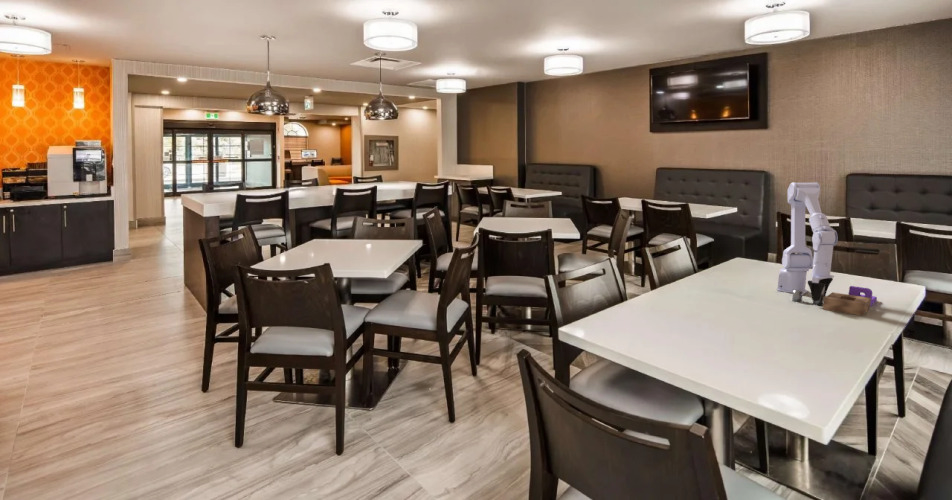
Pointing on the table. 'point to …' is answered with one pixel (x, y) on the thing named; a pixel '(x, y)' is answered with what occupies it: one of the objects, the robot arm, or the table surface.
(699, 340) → the table surface
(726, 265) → the table surface
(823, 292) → the tall pin
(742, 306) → the table surface
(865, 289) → the bracket
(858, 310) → the hole block
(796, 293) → the short pin
